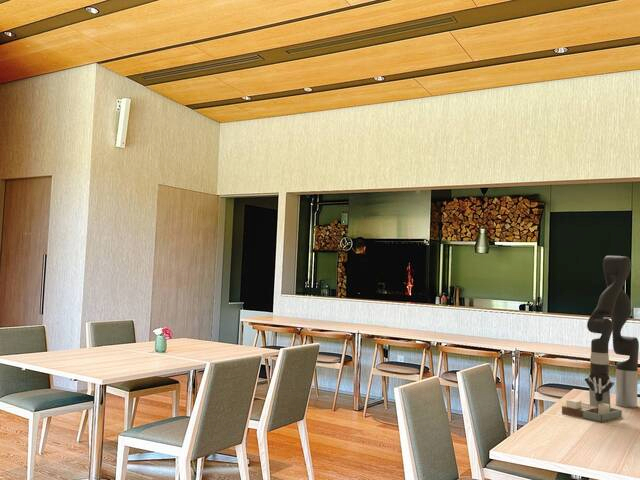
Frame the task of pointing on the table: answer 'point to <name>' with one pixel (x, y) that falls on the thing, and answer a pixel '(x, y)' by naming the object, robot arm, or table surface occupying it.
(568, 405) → the cream square block
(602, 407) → the tile
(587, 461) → the table surface
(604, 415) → the tray
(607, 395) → the skincare box
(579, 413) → the walnut board
